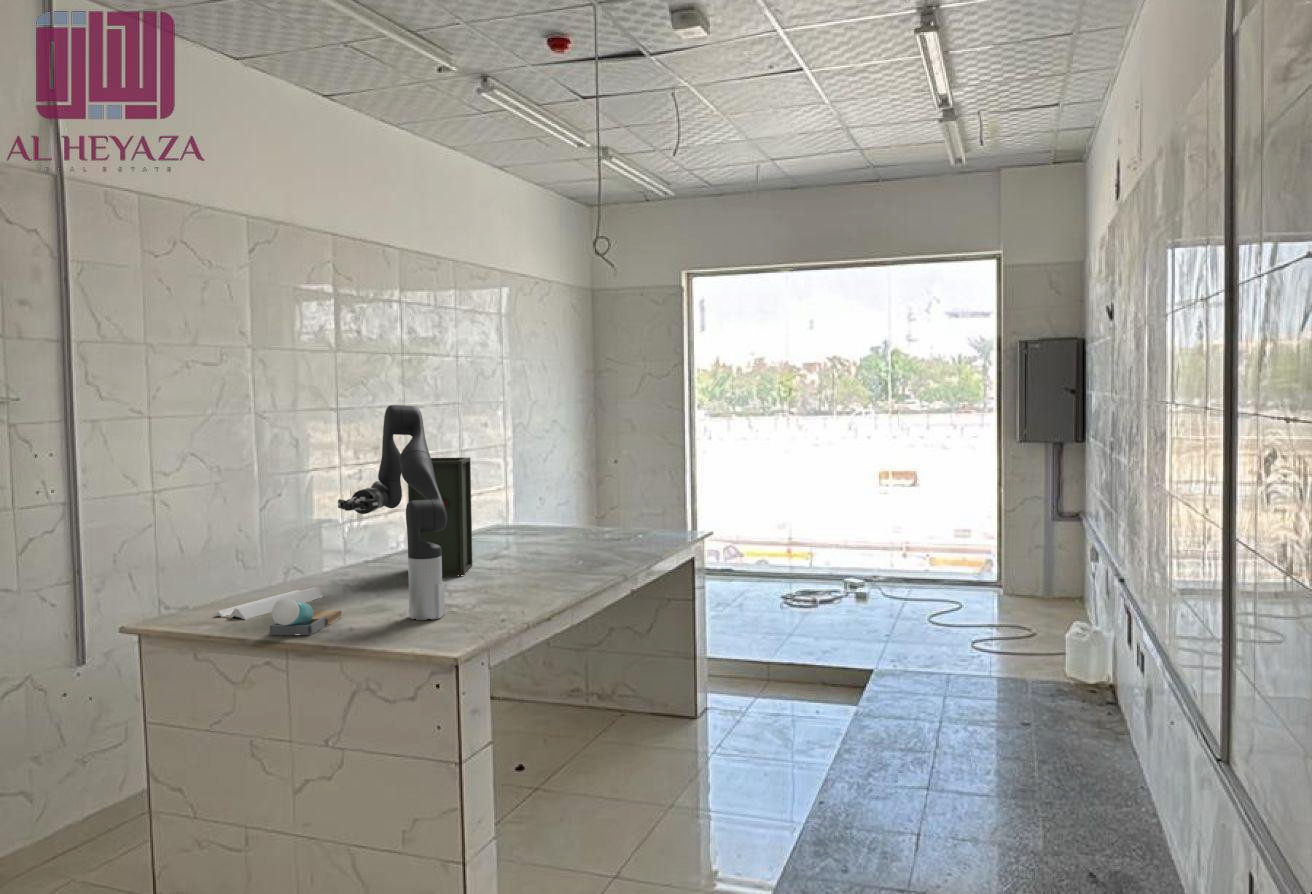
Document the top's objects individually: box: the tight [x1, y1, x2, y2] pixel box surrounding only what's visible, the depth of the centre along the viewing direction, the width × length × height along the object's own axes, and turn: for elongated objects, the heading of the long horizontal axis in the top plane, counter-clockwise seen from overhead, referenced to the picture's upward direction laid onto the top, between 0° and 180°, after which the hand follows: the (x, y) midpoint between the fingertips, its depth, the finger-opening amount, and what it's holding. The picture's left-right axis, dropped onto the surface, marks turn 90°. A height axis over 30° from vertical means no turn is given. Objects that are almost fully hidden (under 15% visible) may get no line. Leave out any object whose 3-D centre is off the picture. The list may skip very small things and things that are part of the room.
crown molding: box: [215, 586, 324, 620], centre depth 283 cm, size 31×12×4 cm, turn 158°
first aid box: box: [407, 457, 473, 577], centre depth 335 cm, size 18×18×40 cm
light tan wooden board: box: [308, 610, 342, 626], centre depth 263 cm, size 12×10×2 cm
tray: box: [269, 617, 326, 636], centre depth 254 cm, size 11×10×3 cm
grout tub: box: [271, 598, 314, 625], centre depth 251 cm, size 7×7×11 cm
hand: (347, 507), depth 279 cm, fingers closed
